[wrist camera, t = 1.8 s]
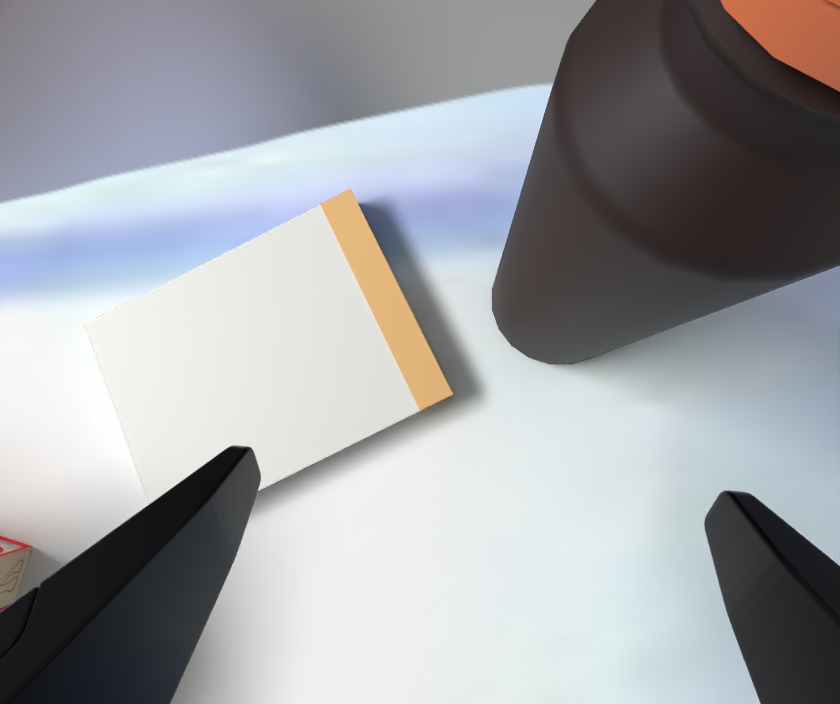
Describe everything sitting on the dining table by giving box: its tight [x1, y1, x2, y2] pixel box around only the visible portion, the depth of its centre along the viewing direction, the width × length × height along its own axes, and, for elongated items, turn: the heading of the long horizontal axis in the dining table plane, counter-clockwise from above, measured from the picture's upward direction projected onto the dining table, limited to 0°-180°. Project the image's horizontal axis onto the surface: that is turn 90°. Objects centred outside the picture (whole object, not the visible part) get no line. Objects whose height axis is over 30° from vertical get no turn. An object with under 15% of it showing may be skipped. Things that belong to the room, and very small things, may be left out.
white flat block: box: [84, 189, 453, 504], centre depth 23 cm, size 12×16×2 cm
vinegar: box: [492, 0, 840, 364], centre depth 13 cm, size 7×7×20 cm
